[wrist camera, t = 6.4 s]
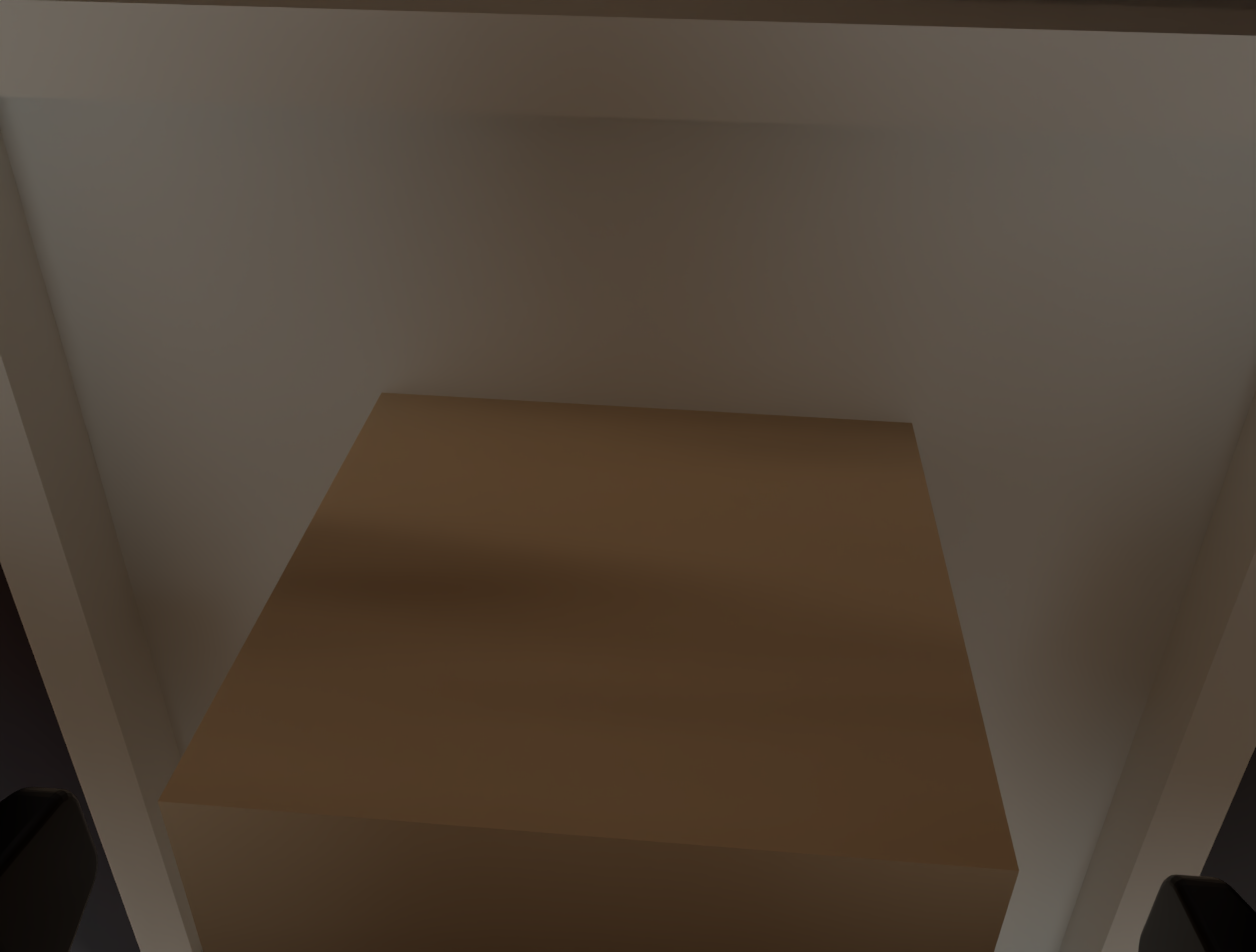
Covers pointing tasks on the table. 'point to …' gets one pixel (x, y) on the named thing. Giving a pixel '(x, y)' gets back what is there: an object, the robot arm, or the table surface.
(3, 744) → the table surface
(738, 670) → the oak block
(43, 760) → the table surface
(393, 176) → the tray
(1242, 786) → the table surface
